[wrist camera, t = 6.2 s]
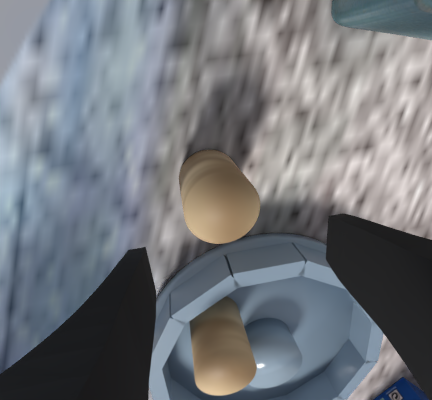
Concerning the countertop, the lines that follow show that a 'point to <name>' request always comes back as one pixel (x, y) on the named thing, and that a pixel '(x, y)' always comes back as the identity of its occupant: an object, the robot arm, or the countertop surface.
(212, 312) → the bead
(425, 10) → the flower pot
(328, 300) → the ring tray
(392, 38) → the countertop surface
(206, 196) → the bead
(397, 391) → the pasta box
